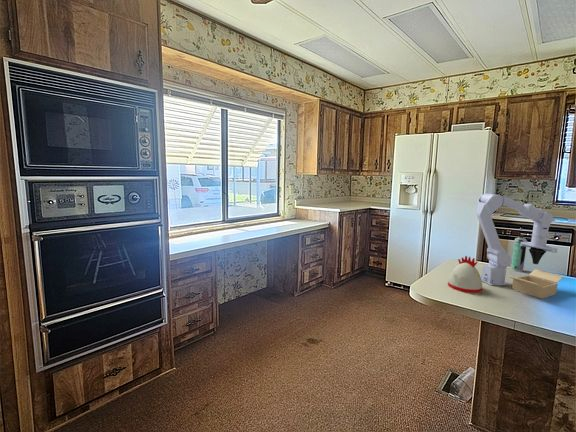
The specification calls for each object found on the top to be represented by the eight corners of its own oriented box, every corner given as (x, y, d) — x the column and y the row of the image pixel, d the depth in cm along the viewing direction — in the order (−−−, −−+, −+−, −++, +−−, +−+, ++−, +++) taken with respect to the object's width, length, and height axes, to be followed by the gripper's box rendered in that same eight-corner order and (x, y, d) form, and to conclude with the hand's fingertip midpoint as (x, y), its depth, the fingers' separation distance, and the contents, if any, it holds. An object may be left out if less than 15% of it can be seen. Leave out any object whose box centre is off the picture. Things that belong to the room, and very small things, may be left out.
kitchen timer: (473, 295, 138) (476, 262, 136) (442, 285, 149) (445, 254, 147) (487, 289, 146) (490, 257, 144) (456, 280, 157) (459, 250, 155)
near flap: (542, 286, 135) (542, 287, 135) (514, 278, 145) (513, 279, 145) (536, 283, 133) (536, 284, 133) (508, 275, 143) (508, 276, 143)
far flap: (528, 274, 151) (528, 275, 151) (556, 282, 141) (556, 283, 141) (535, 268, 153) (535, 269, 153) (563, 276, 143) (563, 276, 143)
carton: (541, 298, 136) (543, 287, 135) (511, 288, 146) (513, 278, 146) (556, 294, 141) (557, 283, 141) (526, 285, 152) (527, 275, 151)
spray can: (524, 272, 172) (529, 236, 169) (513, 271, 173) (518, 235, 171) (519, 269, 178) (524, 234, 175) (509, 268, 179) (513, 233, 176)
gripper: (562, 238, 145) (557, 267, 147) (527, 232, 158) (523, 258, 160) (554, 239, 142) (549, 268, 144) (519, 233, 155) (515, 260, 157)
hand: (535, 263), depth 152 cm, fingers closed
